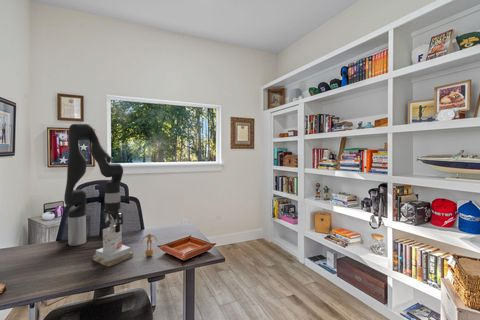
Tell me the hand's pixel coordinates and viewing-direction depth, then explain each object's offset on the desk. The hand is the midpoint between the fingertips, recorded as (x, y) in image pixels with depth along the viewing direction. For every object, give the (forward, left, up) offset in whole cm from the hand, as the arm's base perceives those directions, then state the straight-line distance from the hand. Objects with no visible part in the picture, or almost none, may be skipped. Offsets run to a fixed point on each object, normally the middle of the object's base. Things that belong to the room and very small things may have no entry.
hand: (113, 230), depth 133 cm
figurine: (+13, +13, -15) cm, 24 cm away
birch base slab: (0, 0, -16) cm, 16 cm away
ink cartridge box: (0, 0, -10) cm, 10 cm away
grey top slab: (0, 0, -13) cm, 13 cm away
